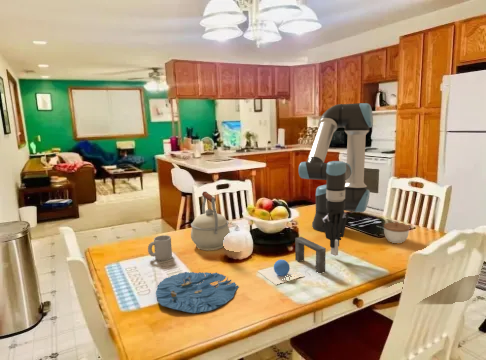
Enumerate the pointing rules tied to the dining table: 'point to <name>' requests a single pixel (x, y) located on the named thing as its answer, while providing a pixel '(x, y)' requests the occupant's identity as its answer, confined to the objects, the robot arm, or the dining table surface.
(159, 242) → the cup
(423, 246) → the dining table surface
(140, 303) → the dining table surface
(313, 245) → the bridge
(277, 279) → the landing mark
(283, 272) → the ball
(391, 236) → the white lidded pot
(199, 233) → the kettle
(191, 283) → the blue cloth
